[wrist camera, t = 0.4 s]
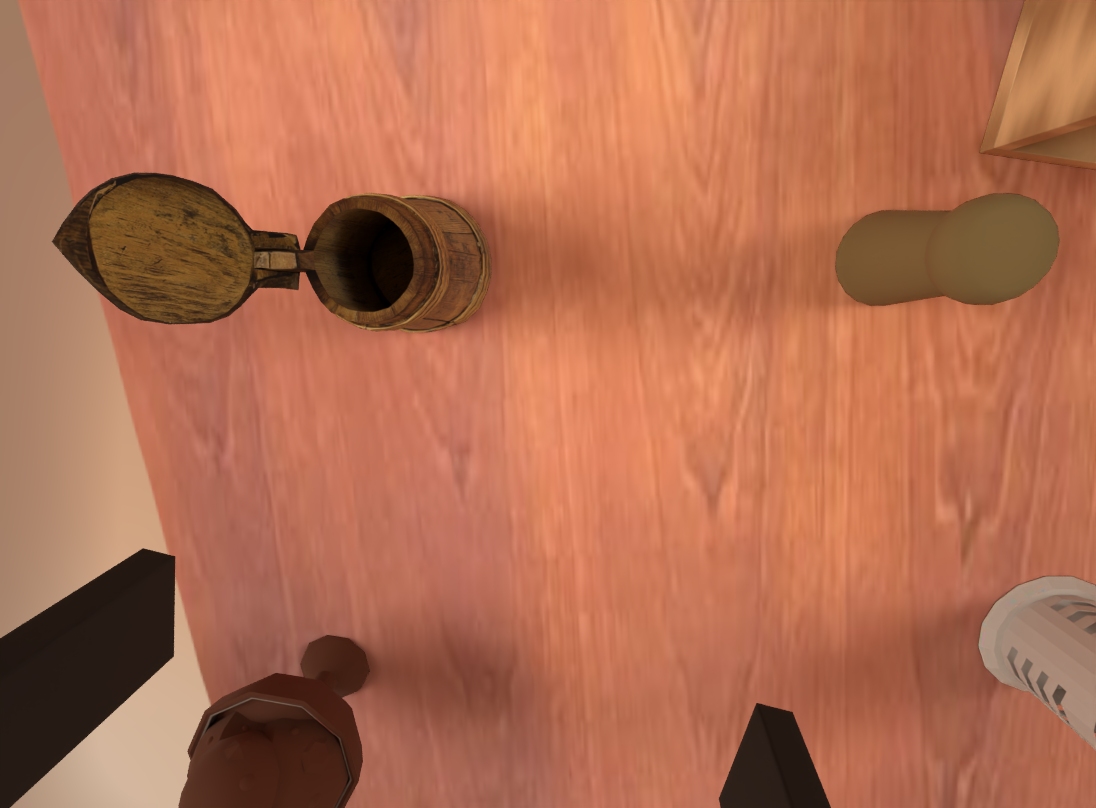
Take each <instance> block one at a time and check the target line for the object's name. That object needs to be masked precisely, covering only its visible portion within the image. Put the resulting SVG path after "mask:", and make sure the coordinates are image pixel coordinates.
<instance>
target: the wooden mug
mask: <svg viewBox="0 0 1096 808" xmlns="http://www.w3.org/2000/svg"><path fill="white" fill-rule="evenodd" d="M52 242H53V243H54V245H55V246H56V247H57V248H58V249H59V250H60V252H61V253H62V254H63V255H64V256H65V257H66V258H67V260H68V261H69V262H70V263H71V264H72V265H73V267H74V268H75V269H76V270H77V271H78V272H79V273H80V274H81V275H82V276H83V277H84V278H85V279H86V280H87V281H88V282H89V283H90V284H91V285H92V286H93V287H94V288H95V289H96V290H97V291H98V292H100V293H101V294H102V295H103V296H104V297H106V298H107V299H108V300H109V301H110V302H112V303H113V304H114V305H115V306H116V307H118V308H119V309H120V310H122V311H124V312H126V313H128V314H130V315H132V316H134V317H136V318H138V319H140V320H144V321H151V322H158V323H165V324H196V323H211V322H214V321H216V320H219V319H222V318H225V317H227V316H229V315H230V314H232V313H233V312H234V311H235V310H237V309H238V308H239V307H240V306H241V305H242V304H243V303H244V302H245V301H246V300H247V299H248V298H249V297H250V296H251V295H252V294H253V293H254V292H255V291H256V290H257V289H258V288H286V289H294V290H298V289H299V276H300V272H306V274H307V277H308V279H309V281H310V283H311V285H312V288H313V289H314V291H315V293H316V294H317V296H318V298H319V299H320V301H321V302H322V303H323V304H324V305H325V306H326V307H327V309H328V310H329V311H330V312H332V313H334V314H335V315H336V316H337V317H339V318H341V319H343V320H344V321H346V322H349V323H351V324H353V325H355V326H357V327H359V328H361V329H366V330H371V331H388V330H401V331H406V332H432V331H437V330H440V329H443V328H447V327H450V326H453V325H456V324H459V323H462V322H465V321H466V320H467V319H468V318H470V317H471V316H472V315H473V314H474V313H475V312H476V311H477V310H478V309H479V308H480V306H481V303H482V301H483V299H484V297H485V295H486V293H487V290H488V286H489V282H490V278H491V256H490V252H489V248H488V244H487V240H486V238H485V236H484V234H483V232H482V230H481V229H480V227H479V225H478V223H477V222H476V221H475V220H474V219H473V218H472V217H471V216H470V215H469V214H468V213H467V212H466V210H464V209H463V208H461V207H460V206H458V205H456V204H455V203H453V202H452V201H450V200H446V199H441V198H437V197H431V196H414V195H408V196H403V197H397V196H393V195H387V194H375V193H365V194H359V195H352V196H349V197H347V198H344V199H342V200H339V201H337V202H335V203H333V204H331V205H329V206H328V208H327V209H326V210H325V211H324V212H323V214H322V215H321V216H320V217H319V218H318V220H317V221H316V222H315V223H314V225H313V227H312V229H311V231H310V233H309V235H308V238H307V241H306V244H305V247H304V250H300V246H299V242H298V239H297V235H293V234H288V233H277V232H267V231H256V230H252V229H251V228H250V227H249V226H248V225H247V224H246V223H245V221H244V220H243V218H242V217H241V216H240V214H239V213H238V212H237V210H236V209H235V208H234V207H233V206H232V205H230V204H229V203H228V202H227V201H226V200H225V199H224V198H222V197H221V196H220V195H219V194H218V193H217V192H215V191H214V190H213V189H212V188H209V187H206V186H204V185H201V184H199V183H196V182H194V181H191V180H187V179H184V178H180V177H176V176H173V175H166V174H159V173H131V174H127V175H123V176H119V177H115V178H111V179H110V180H108V181H106V182H104V183H103V184H101V185H99V186H97V187H96V188H94V189H92V190H91V191H90V192H89V193H88V194H86V195H85V196H84V197H83V198H82V199H81V200H80V201H79V202H78V203H77V205H76V206H75V207H74V209H73V210H72V211H71V213H70V214H69V216H68V217H67V218H66V219H65V221H64V222H63V224H62V225H61V227H60V229H59V230H58V232H57V234H56V236H55V238H54V239H53V241H52Z"/></svg>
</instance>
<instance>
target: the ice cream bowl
mask: <svg viewBox="0 0 1096 808" xmlns="http://www.w3.org/2000/svg"><path fill="white" fill-rule="evenodd" d="M301 668H302V672H303V675H304V677H298V676H293V675H286V674H279V673H275V674H273V675H271V676H268V677H266V678H264V679H261V680H259V681H257V682H255V683H252V684H250V685H248V686H246V687H243V688H241V689H239V690H237V691H234V692H232V693H230V694H228V695H226V696H224V697H222V698H221V699H220V700H218V701H217V702H216V703H214V704H213V705H212V706H211V707H209V708H208V709H207V710H206V711H205V712H204V714H203V716H202V719H201V721H200V723H199V726H198V728H197V730H196V733H195V735H194V737H193V739H192V742H191V744H190V746H189V749H188V754H189V757H190V760H191V761H190V765H189V770H188V774H187V777H188V779H187V782H186V784H185V786H184V788H183V791H182V793H181V798H180V803H179V808H345V806H346V804H347V802H348V800H349V798H350V796H351V795H352V793H353V791H354V789H355V787H356V785H357V783H358V781H359V777H360V772H361V767H362V762H363V758H362V745H361V741H360V737H359V733H358V730H357V726H356V722H355V718H354V715H353V711H352V708H351V707H350V706H349V705H348V704H347V702H346V701H345V700H343V699H342V697H344V696H347V695H349V694H352V693H354V692H356V691H358V690H359V689H360V688H361V687H362V685H363V683H364V681H365V679H366V677H367V675H368V674H369V672H370V671H369V667H368V663H367V659H366V655H365V653H364V652H363V651H362V650H361V649H360V648H359V647H358V646H356V645H355V644H354V643H353V642H352V641H351V640H349V639H347V638H341V637H335V636H329V635H327V636H325V637H322V638H320V639H318V640H316V641H313V642H311V643H309V645H308V648H307V650H306V652H305V654H304V656H303V658H302V661H301Z"/></svg>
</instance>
